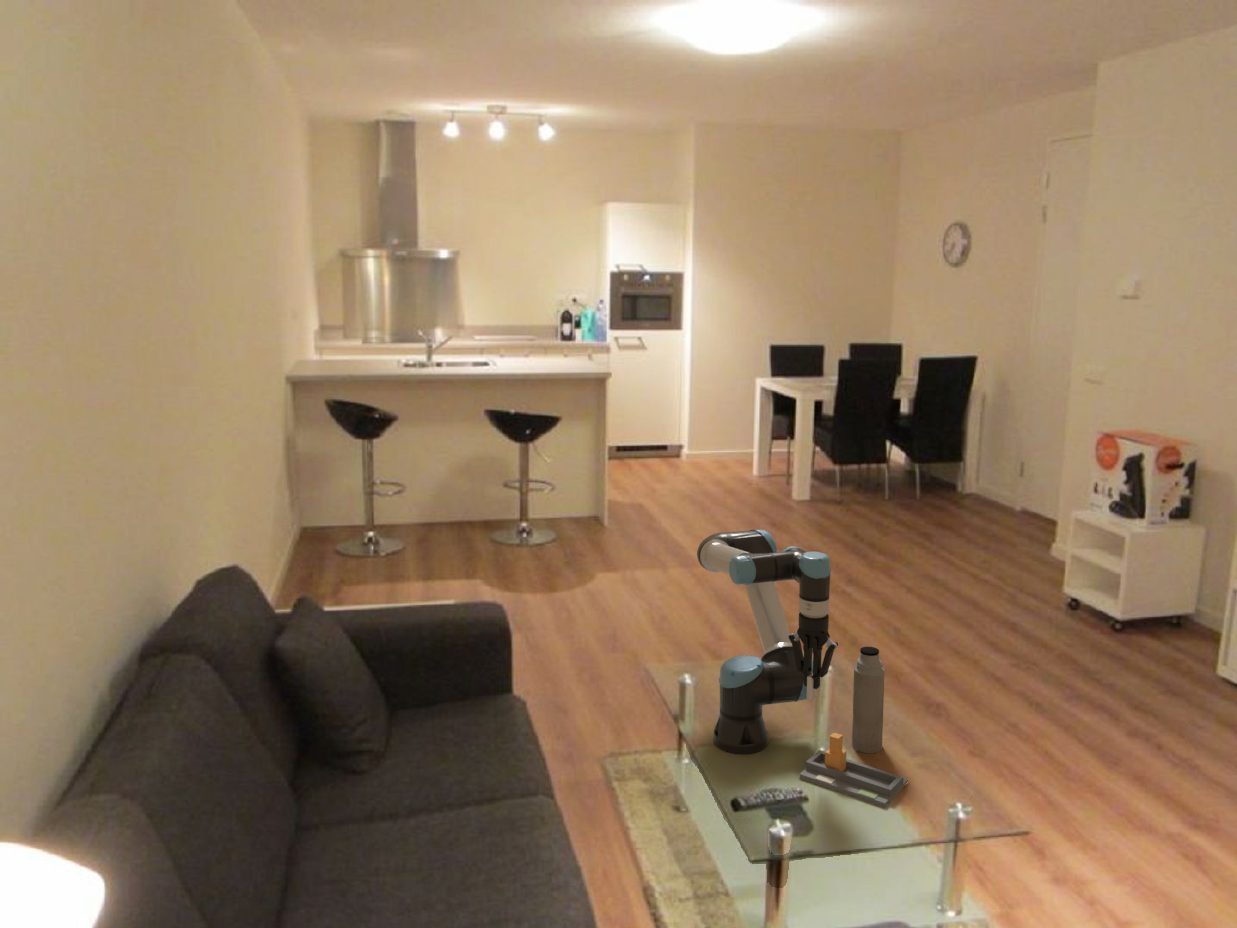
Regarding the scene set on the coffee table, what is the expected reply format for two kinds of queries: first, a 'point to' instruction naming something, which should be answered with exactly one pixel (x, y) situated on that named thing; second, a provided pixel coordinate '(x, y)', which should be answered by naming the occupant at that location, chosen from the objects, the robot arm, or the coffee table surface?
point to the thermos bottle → (868, 701)
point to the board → (854, 780)
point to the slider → (836, 753)
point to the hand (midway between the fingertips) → (811, 698)
